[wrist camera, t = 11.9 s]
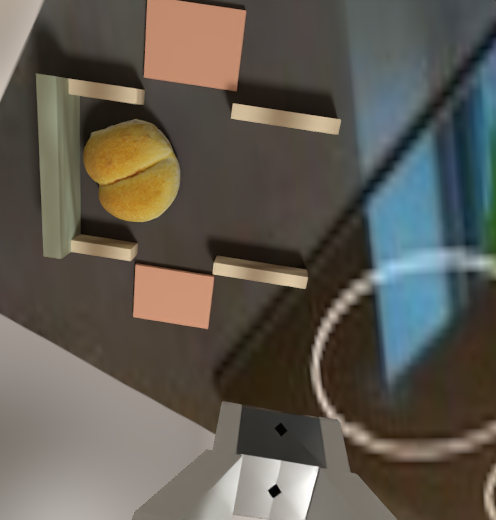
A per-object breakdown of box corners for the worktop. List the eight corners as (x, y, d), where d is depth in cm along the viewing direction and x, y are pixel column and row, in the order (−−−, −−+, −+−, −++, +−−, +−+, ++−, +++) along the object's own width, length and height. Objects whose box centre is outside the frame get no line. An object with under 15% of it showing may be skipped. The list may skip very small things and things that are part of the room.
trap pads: (246, 11, 32) (245, 10, 32) (208, 326, 43) (207, 328, 42) (148, -3, 33) (147, -4, 32) (134, 315, 43) (133, 316, 43)
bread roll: (118, 227, 40) (102, 239, 36) (80, 136, 37) (58, 139, 33) (196, 204, 38) (187, 214, 35) (163, 108, 36) (149, 108, 32)
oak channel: (337, 119, 35) (345, 120, 31) (304, 280, 40) (307, 297, 36) (61, 77, 35) (35, 73, 31) (65, 242, 41) (43, 256, 37)
